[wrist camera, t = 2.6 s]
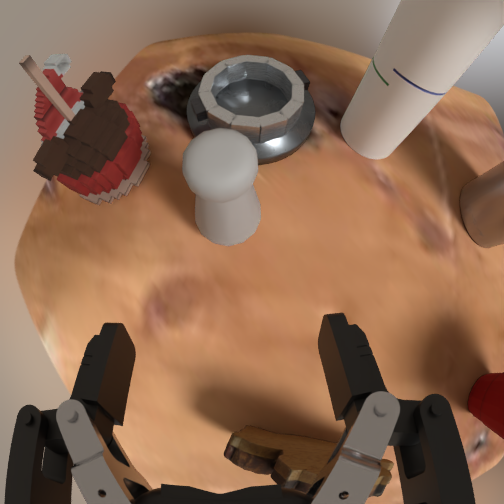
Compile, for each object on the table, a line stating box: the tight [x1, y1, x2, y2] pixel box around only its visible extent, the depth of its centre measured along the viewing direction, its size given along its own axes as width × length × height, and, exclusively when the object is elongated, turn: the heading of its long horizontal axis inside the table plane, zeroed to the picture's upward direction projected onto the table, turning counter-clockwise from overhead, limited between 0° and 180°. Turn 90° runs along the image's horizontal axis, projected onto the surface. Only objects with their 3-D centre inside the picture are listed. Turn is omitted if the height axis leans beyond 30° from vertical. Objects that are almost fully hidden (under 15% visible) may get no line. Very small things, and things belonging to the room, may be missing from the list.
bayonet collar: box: [187, 55, 315, 165], centre depth 27 cm, size 14×14×4 cm
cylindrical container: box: [340, 0, 504, 159], centre depth 17 cm, size 7×7×25 cm
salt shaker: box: [182, 128, 261, 246], centre depth 21 cm, size 6×6×13 cm
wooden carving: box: [224, 426, 394, 497], centre depth 19 cm, size 16×5×10 cm, turn 74°
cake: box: [19, 54, 151, 205], centre depth 19 cm, size 11×9×18 cm
